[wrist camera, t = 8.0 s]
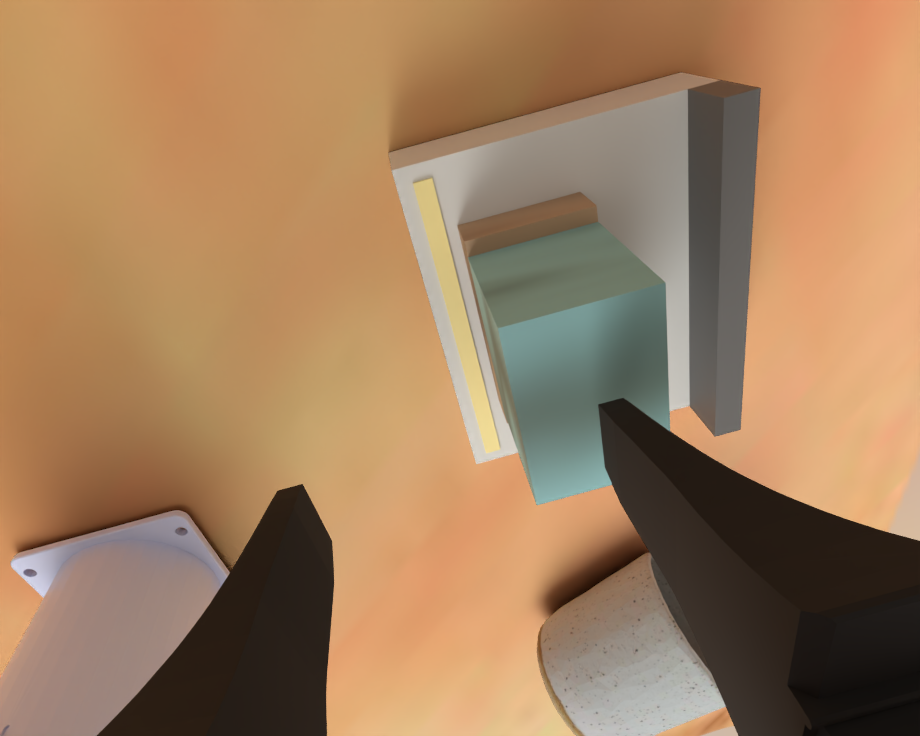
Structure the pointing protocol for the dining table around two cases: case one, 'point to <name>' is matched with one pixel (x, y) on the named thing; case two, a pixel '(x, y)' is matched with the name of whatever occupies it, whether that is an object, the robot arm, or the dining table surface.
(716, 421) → the dock
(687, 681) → the ceramic mug
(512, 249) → the teal rectangular block
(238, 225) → the dining table surface
